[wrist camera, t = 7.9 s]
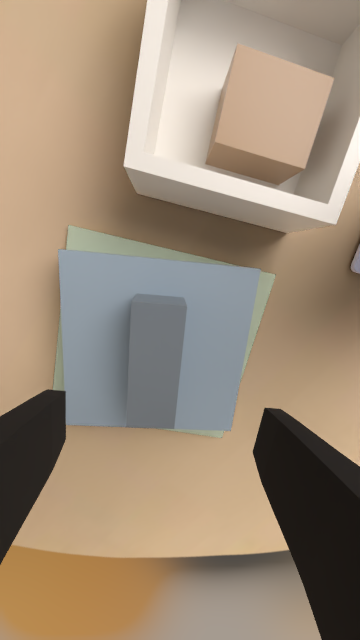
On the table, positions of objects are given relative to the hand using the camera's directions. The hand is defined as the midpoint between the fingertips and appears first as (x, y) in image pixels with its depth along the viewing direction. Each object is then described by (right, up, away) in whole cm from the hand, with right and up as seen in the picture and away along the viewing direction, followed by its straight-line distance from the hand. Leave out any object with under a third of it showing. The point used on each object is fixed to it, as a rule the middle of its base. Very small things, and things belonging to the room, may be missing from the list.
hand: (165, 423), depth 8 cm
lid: (-1, +2, +10) cm, 10 cm away
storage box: (+4, +16, +6) cm, 18 cm away
